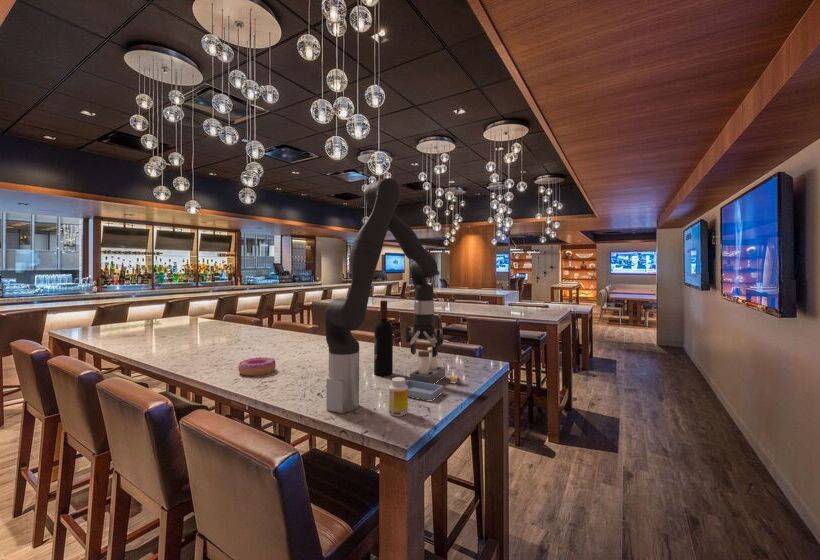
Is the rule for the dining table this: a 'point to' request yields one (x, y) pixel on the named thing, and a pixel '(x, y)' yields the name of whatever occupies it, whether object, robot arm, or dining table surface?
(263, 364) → the donut
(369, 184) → the robot arm
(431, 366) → the cylinder
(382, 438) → the dining table surface
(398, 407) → the supplement bottle
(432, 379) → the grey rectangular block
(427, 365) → the cylinder
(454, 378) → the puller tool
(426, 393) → the parts tray
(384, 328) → the wine bottle
